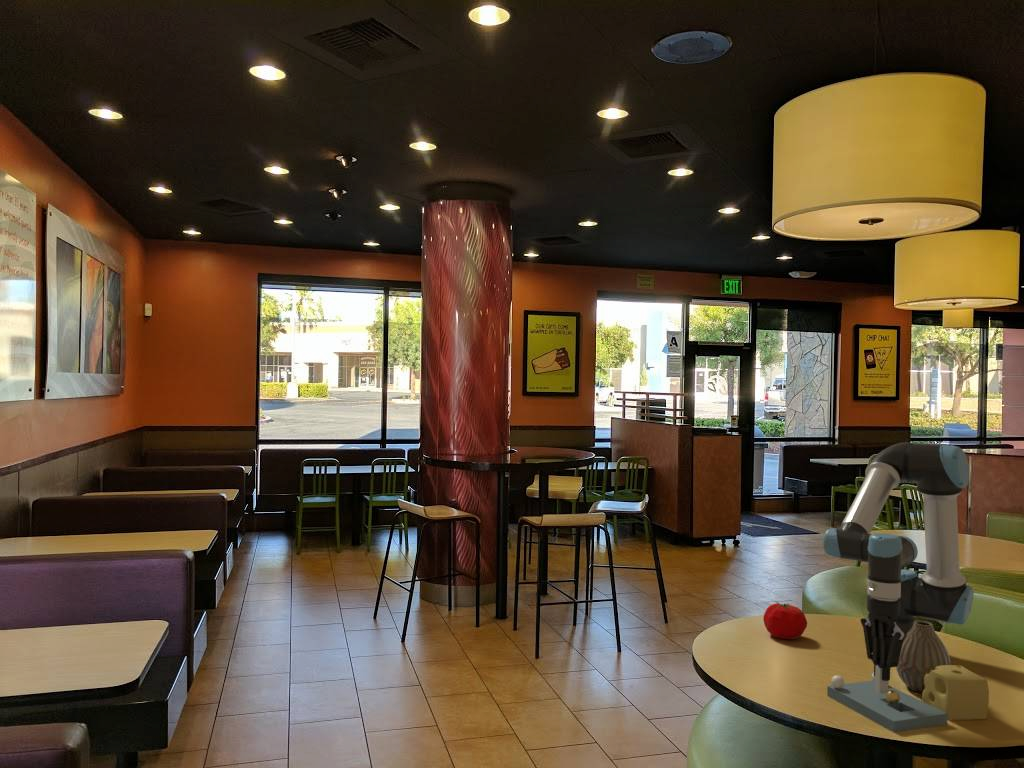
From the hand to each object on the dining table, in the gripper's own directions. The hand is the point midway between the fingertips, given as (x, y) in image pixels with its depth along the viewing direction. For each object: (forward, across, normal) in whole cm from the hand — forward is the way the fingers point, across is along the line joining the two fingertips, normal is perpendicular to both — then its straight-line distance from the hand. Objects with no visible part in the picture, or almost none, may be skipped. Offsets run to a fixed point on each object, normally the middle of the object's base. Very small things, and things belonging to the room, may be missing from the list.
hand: (881, 691), depth 196 cm
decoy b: (0, -8, -6) cm, 10 cm away
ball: (0, +4, 0) cm, 4 cm away
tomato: (+4, -53, +12) cm, 55 cm away
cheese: (+4, +7, +16) cm, 18 cm away
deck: (+4, +1, 0) cm, 4 cm away
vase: (+4, -7, +20) cm, 22 cm away
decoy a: (0, -8, +7) cm, 10 cm away
